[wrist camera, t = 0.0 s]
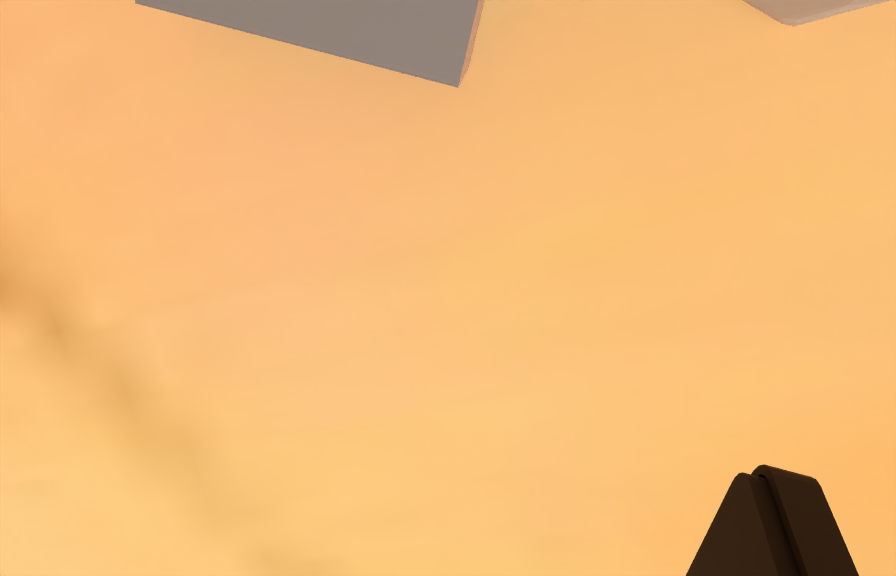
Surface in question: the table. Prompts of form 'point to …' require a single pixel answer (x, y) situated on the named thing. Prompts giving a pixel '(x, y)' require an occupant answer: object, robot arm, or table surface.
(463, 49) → the socket housing
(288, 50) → the table surface
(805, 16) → the electrical switch
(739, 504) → the robot arm
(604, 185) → the table surface
